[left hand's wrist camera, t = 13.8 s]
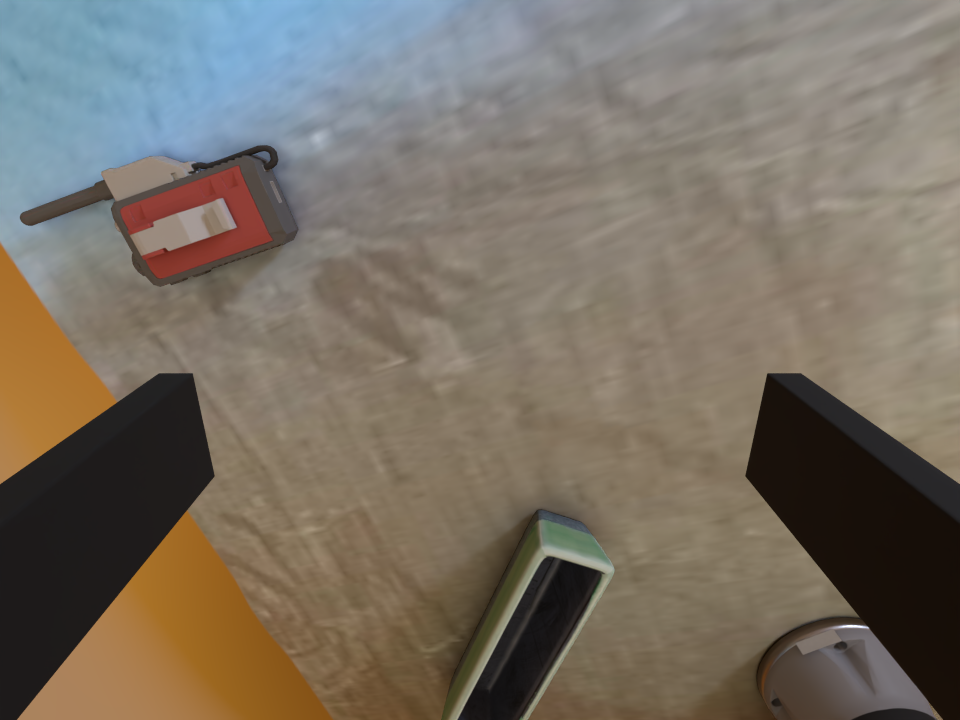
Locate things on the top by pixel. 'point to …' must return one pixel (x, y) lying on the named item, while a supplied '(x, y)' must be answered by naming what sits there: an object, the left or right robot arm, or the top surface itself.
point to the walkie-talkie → (188, 212)
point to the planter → (530, 621)
